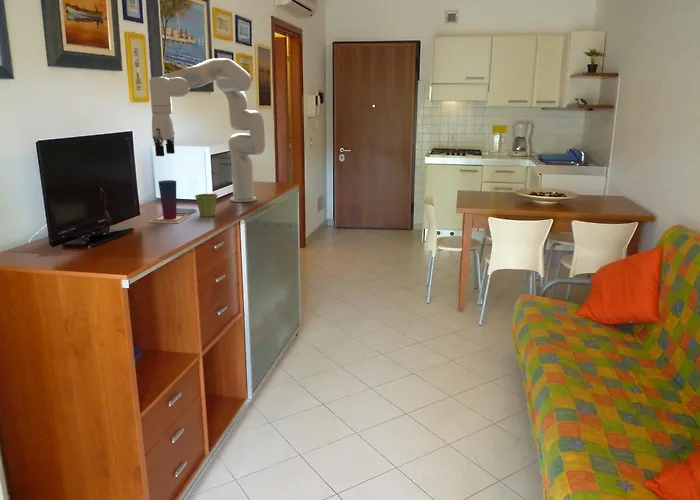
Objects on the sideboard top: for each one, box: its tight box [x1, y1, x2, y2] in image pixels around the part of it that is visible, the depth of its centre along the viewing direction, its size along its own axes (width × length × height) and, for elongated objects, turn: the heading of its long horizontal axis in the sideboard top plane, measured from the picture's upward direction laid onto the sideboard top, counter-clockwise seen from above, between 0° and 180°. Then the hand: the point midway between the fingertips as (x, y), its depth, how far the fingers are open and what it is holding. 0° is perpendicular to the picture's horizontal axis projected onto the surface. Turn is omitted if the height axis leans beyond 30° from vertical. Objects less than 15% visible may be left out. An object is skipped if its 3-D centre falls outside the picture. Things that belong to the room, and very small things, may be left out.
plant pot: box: [194, 193, 219, 218], centre depth 237 cm, size 9×9×9 cm
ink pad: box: [160, 207, 197, 216], centre depth 242 cm, size 11×11×1 cm
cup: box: [158, 179, 177, 219], centre depth 228 cm, size 7×7×15 cm
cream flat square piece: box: [148, 214, 190, 224], centre depth 230 cm, size 12×12×1 cm
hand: (165, 154), depth 224 cm, fingers open, 9 cm apart
